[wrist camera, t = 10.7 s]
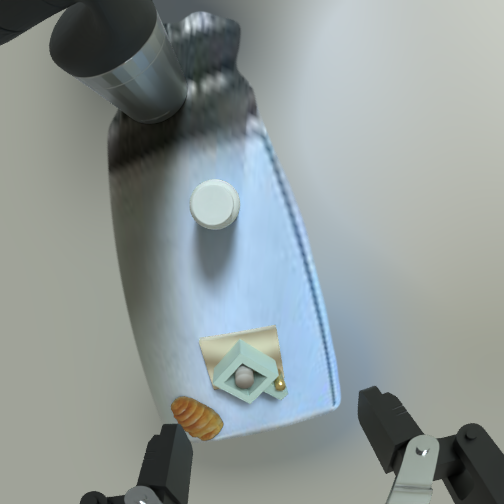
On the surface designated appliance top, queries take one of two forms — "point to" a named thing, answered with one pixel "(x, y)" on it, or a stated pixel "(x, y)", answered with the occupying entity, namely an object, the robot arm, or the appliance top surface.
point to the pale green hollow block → (262, 376)
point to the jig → (221, 344)
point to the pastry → (196, 418)
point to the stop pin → (279, 381)
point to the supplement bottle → (214, 204)
